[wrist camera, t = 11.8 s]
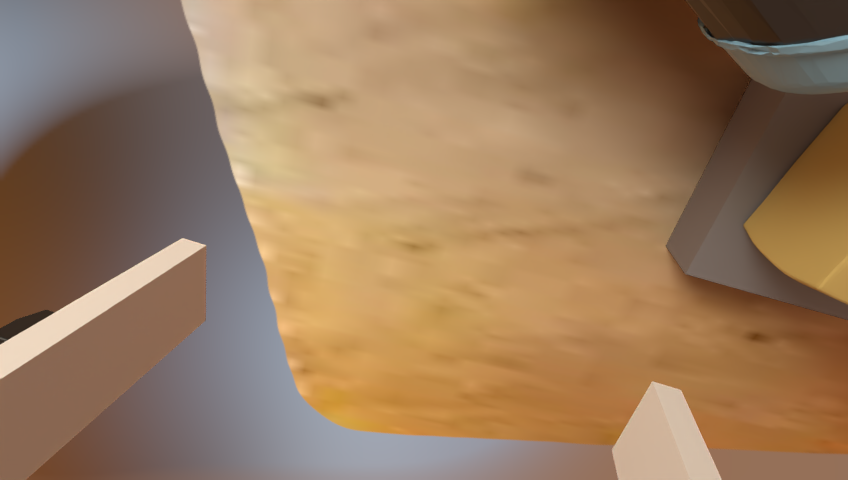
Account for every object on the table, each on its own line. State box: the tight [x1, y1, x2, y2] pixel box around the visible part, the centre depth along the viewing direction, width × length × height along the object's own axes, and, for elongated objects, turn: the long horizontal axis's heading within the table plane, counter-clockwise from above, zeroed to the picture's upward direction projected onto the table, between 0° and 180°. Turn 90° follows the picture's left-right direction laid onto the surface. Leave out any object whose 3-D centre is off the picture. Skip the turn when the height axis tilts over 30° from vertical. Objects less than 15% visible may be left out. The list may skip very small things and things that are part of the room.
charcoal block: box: [666, 79, 848, 320], centre depth 34 cm, size 16×16×6 cm
